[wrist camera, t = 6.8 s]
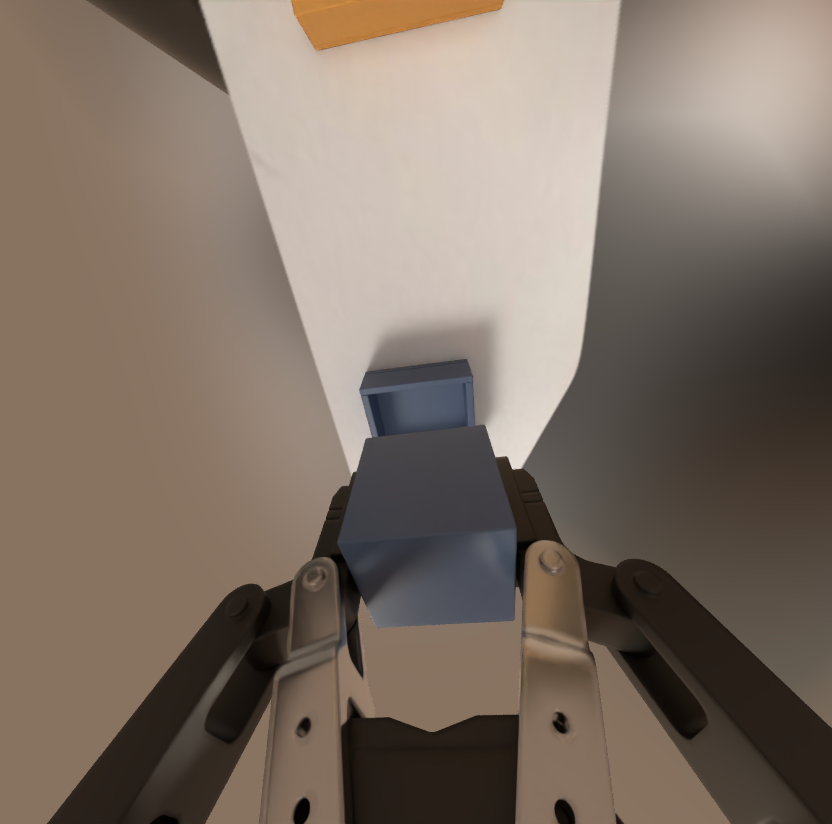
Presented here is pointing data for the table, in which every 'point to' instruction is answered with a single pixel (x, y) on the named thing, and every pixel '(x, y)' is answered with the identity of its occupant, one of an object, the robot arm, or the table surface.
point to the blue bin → (419, 398)
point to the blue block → (431, 530)
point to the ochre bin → (377, 17)
